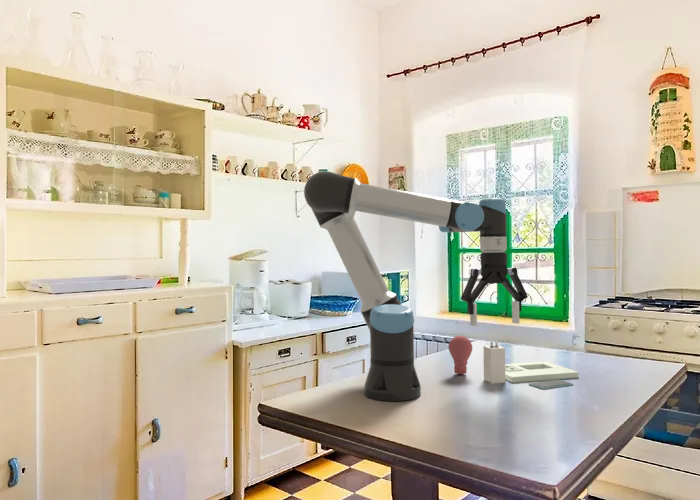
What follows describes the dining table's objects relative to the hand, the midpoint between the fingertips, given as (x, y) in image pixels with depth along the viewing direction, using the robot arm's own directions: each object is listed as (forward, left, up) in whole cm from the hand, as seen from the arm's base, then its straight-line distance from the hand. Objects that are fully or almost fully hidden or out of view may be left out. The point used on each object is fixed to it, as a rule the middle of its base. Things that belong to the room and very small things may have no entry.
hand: (495, 324), depth 161 cm
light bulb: (-6, +10, -17) cm, 21 cm away
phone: (+13, -8, -17) cm, 23 cm away
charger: (0, 0, -17) cm, 17 cm away
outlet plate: (+15, +5, -17) cm, 23 cm away
